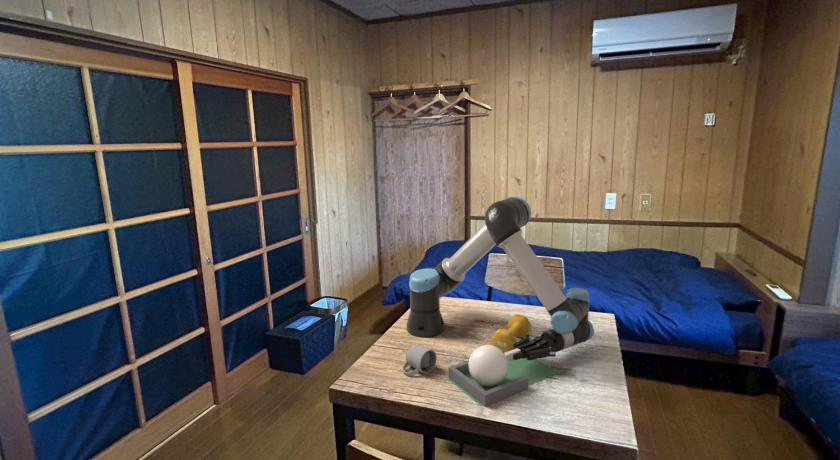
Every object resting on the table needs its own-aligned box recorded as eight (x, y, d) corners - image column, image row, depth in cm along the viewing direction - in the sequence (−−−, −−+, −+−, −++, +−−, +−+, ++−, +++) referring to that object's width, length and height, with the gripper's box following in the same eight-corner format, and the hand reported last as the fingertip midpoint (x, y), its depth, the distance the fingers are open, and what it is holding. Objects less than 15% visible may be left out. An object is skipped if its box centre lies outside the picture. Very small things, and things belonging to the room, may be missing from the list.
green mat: (448, 380, 134) (448, 379, 134) (524, 353, 150) (524, 352, 150) (480, 406, 120) (480, 405, 120) (559, 373, 136) (559, 372, 136)
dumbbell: (513, 357, 147) (514, 335, 145) (489, 351, 152) (489, 329, 150) (533, 336, 162) (533, 316, 161) (510, 331, 167) (510, 311, 166)
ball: (495, 344, 139) (479, 378, 138) (472, 334, 132) (454, 369, 131) (522, 361, 129) (505, 397, 128) (498, 350, 122) (479, 388, 121)
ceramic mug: (420, 359, 147) (419, 339, 145) (437, 368, 141) (436, 346, 140) (397, 372, 140) (395, 350, 138) (414, 381, 134) (413, 359, 133)
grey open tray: (448, 377, 135) (448, 367, 134) (489, 362, 143) (489, 353, 143) (484, 406, 120) (484, 395, 119) (528, 388, 128) (528, 377, 127)
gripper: (542, 322, 150) (490, 339, 138) (572, 336, 139) (518, 356, 127) (541, 342, 151) (489, 360, 140) (571, 357, 140) (517, 379, 129)
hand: (503, 358), depth 133 cm, fingers closed
